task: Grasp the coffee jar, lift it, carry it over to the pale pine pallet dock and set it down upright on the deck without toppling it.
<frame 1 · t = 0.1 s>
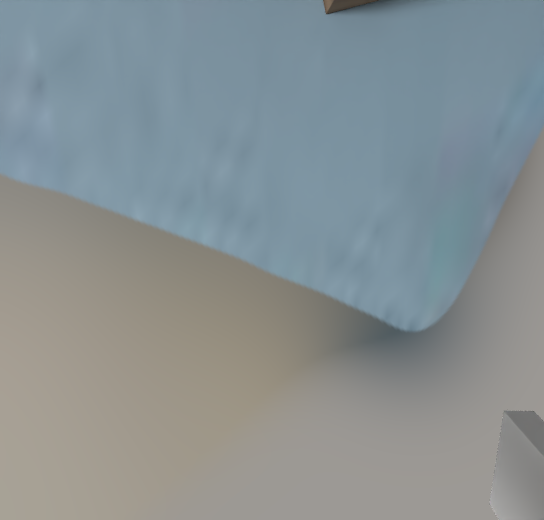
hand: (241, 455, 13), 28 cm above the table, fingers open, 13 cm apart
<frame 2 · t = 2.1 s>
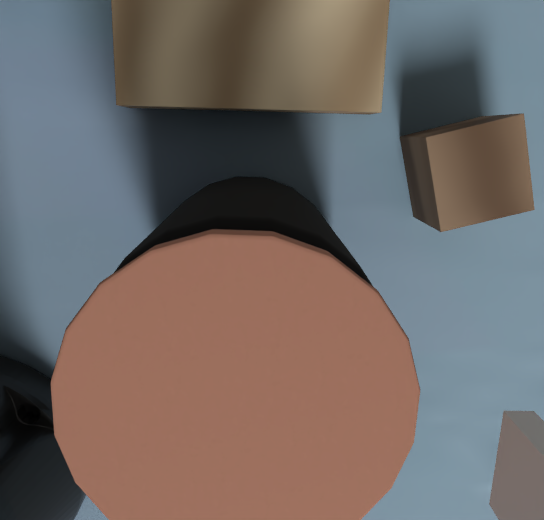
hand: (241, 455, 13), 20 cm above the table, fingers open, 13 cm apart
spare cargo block: (446, 167, 31), on the table
coffee jar: (248, 258, 32), on the table
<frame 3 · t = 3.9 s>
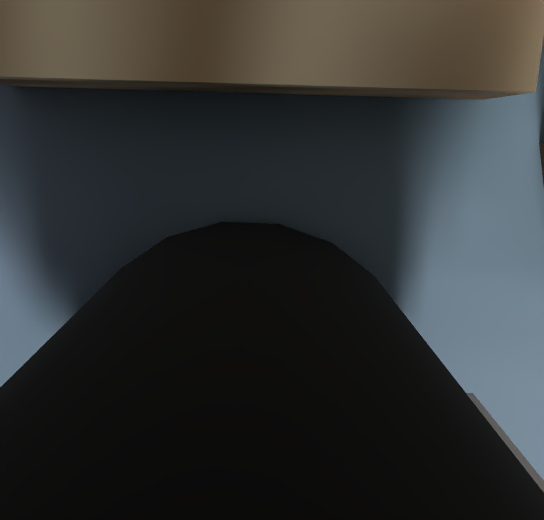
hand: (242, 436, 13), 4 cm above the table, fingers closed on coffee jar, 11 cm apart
coffee jar: (246, 366, 17), on the table, touching gripper
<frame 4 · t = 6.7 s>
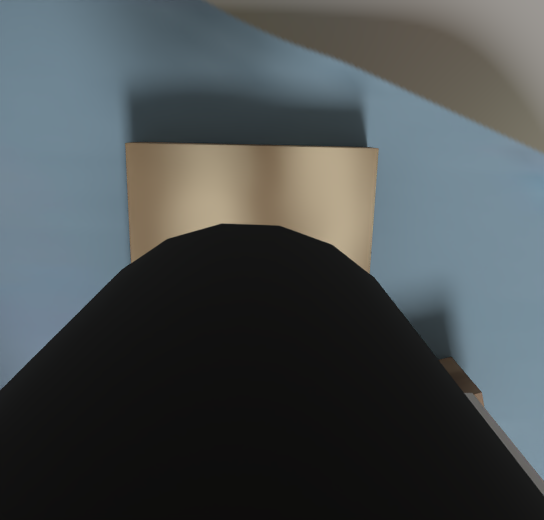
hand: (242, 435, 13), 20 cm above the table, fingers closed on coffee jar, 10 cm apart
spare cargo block: (421, 396, 35), on the table
pallet dock: (252, 255, 33), on the table
coffee jar: (246, 367, 17), point 16 cm above the table, touching gripper
when the fingers open (8 cm above the table, at t = 9.4 s): coffee jar stays where it is, resting on pallet dock.
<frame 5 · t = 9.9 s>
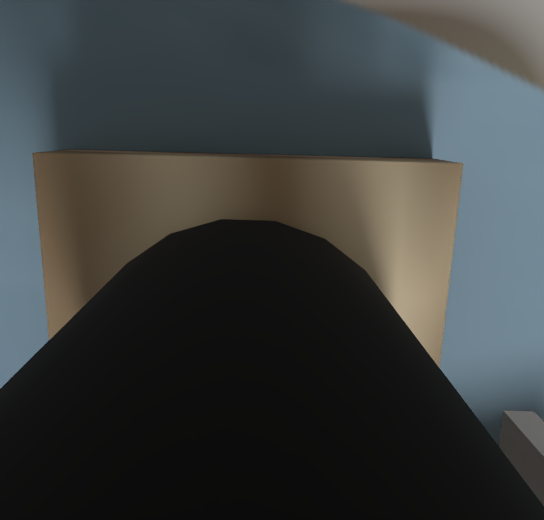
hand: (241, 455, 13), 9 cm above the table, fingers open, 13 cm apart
pallet dock: (249, 325, 21), on the table
coffee jar: (245, 356, 18), point 3 cm above the table, touching pallet dock
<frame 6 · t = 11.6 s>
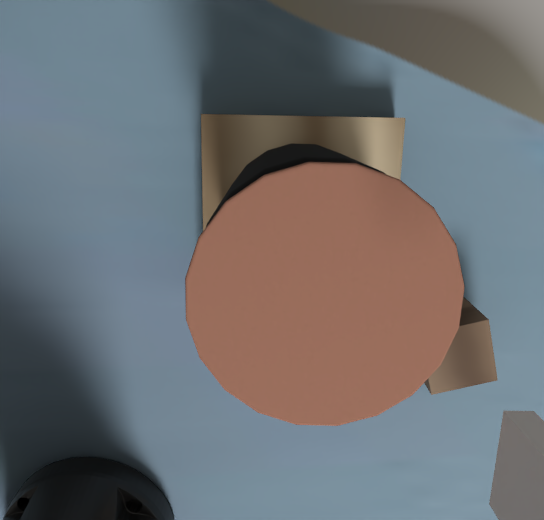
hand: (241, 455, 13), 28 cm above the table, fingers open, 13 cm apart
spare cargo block: (437, 331, 42), on the table
pallet dock: (297, 210, 39), on the table
coffee jar: (298, 217, 37), point 3 cm above the table, touching pallet dock
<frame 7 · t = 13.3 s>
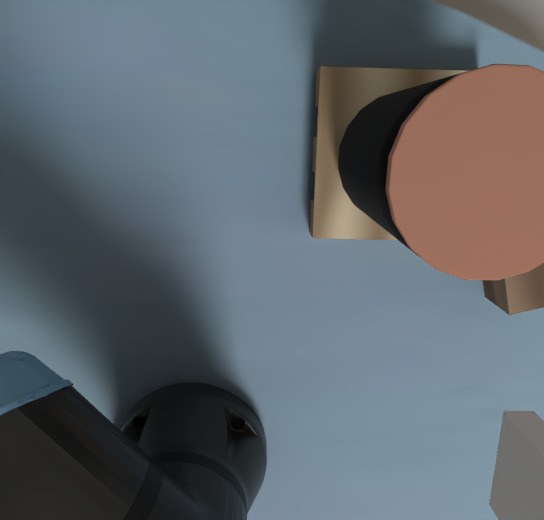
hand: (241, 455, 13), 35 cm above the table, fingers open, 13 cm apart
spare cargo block: (507, 266, 48), on the table
pallet dock: (391, 156, 45), on the table
coffee jar: (398, 158, 42), point 3 cm above the table, touching pallet dock
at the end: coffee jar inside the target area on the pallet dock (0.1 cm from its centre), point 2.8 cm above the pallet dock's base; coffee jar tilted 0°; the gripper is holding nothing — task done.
